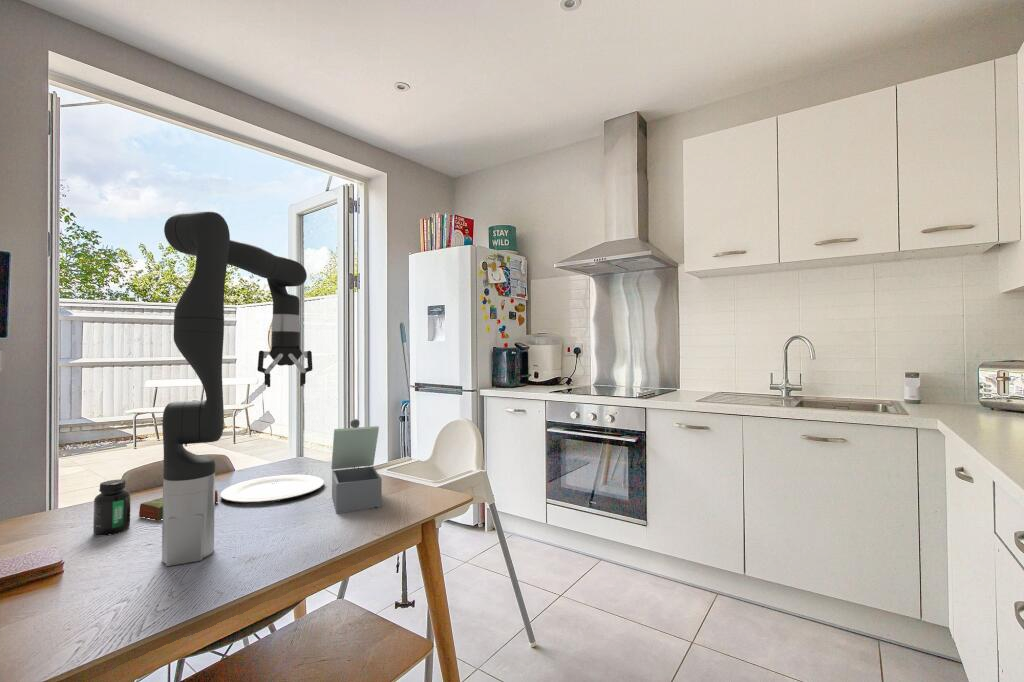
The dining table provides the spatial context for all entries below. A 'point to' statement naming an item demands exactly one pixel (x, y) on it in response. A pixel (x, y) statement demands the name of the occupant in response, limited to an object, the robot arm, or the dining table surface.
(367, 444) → the lid
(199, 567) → the dining table surface
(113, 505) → the supplement bottle
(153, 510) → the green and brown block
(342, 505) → the box
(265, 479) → the plate
